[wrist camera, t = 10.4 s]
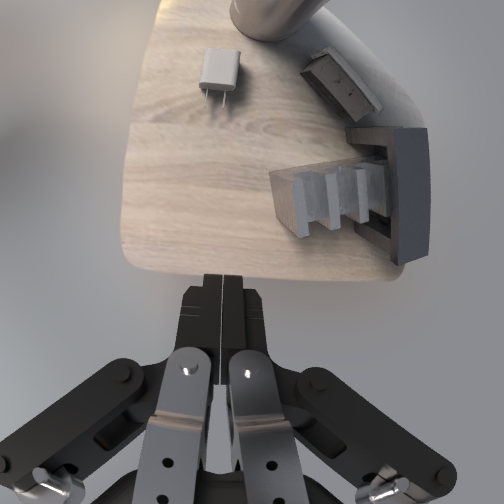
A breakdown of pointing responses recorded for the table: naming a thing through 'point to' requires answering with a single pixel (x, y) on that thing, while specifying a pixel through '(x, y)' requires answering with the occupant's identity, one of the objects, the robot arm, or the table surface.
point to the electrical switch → (340, 85)
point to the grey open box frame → (400, 191)
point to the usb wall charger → (219, 70)
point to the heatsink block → (331, 192)
